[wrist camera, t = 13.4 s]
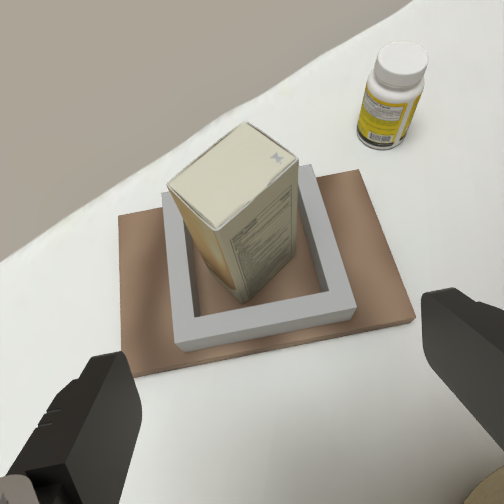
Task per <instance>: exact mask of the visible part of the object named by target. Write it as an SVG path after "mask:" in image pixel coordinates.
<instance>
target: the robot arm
mask: <svg viewBox="0 0 504 504" xmlns="http://www.w3.org/2000/svg"><path fill="white" fill-rule="evenodd" d="M421 317H422V341H423V349H424V353H425V356H426V359H427V361H428V363H429V365H430V366H431V368H432V369H433V370H434V371H435V372H436V374H437V375H438V376H439V377H440V378H441V379H442V380H443V382H444V383H445V384H446V385H447V386H448V387H449V389H450V390H451V391H452V392H453V393H454V394H455V395H456V397H457V398H458V399H459V400H460V401H461V402H462V404H463V405H464V406H465V407H466V408H467V409H468V410H469V412H470V413H471V414H472V415H473V416H474V417H475V418H476V420H477V421H478V422H479V423H480V424H481V425H482V427H483V428H484V429H485V430H486V431H487V432H488V433H489V435H490V436H491V437H492V438H493V439H494V440H495V442H496V443H497V444H498V445H499V446H500V447H501V448H502V450H503V451H504V311H503V310H502V309H500V308H497V307H494V306H491V305H488V304H485V303H482V302H475V301H474V300H472V299H471V298H469V297H468V296H466V295H465V294H463V293H462V292H460V291H459V290H458V289H456V288H447V289H442V290H436V291H431V292H426V293H424V294H423V295H422V297H421ZM141 422H142V406H141V400H140V397H139V394H138V391H137V388H136V385H135V382H134V379H133V376H132V373H131V370H130V367H129V364H128V360H127V358H126V356H125V354H124V353H123V352H122V351H119V352H114V353H108V354H103V355H98V356H93V357H91V358H90V360H89V361H88V363H87V365H86V367H85V368H84V370H83V372H82V373H81V375H80V377H79V379H75V380H72V381H71V382H70V383H69V384H68V385H67V386H66V387H65V388H63V389H62V390H61V391H60V392H59V393H58V394H57V395H56V396H55V398H54V400H53V401H52V403H51V404H50V406H49V408H48V409H47V414H44V415H43V417H42V419H41V420H40V422H39V423H38V428H35V430H34V431H33V433H32V434H31V436H30V438H29V439H28V441H27V442H26V444H25V446H24V447H23V449H22V450H21V452H20V453H19V455H18V457H17V458H16V460H15V461H14V463H13V465H12V466H11V468H10V469H9V471H8V473H7V474H6V476H4V477H1V478H0V504H119V501H120V497H121V494H122V490H123V487H124V483H125V480H126V476H127V472H128V469H129V465H130V462H131V458H132V455H133V451H134V448H135V444H136V440H137V437H138V433H139V430H140V426H141Z"/></svg>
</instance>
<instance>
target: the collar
mask: <svg viewBox="0 0 504 504" xmlns="http://www.w3.org/2000/svg"><path fill="white" fill-rule="evenodd" d="M162 205H163V216H164V228H165V239H166V251H167V262H168V274H169V285H170V296H171V308H172V319H173V331H174V342H175V344H176V345H177V346H178V347H179V348H180V349H181V350H182V351H184V352H185V353H186V352H191V351H196V350H201V349H206V348H211V347H216V346H221V345H226V344H232V343H237V342H242V341H247V340H252V339H257V338H262V337H267V336H272V335H277V334H282V333H287V332H292V331H297V330H302V329H307V328H312V327H317V326H322V325H327V324H332V323H337V322H342V321H348V320H350V319H351V318H352V316H353V314H354V312H355V310H356V308H357V306H356V302H355V299H354V296H353V293H352V290H351V287H350V284H349V280H348V277H347V274H346V271H345V268H344V265H343V262H342V259H341V255H340V252H339V249H338V246H337V243H336V240H335V237H334V234H333V230H332V227H331V224H330V221H329V218H328V215H327V212H326V208H325V205H324V202H323V199H322V196H321V193H320V190H319V187H318V183H317V180H316V177H315V174H314V171H313V168H312V165H311V164H309V165H304V166H299V167H298V198H297V206H298V210H299V213H300V217H301V221H302V224H303V228H304V231H305V235H306V238H307V242H308V246H309V249H310V253H311V256H312V260H313V263H314V267H315V271H316V274H317V278H318V281H319V285H320V288H321V292H322V293H317V294H312V295H307V296H302V297H297V298H292V299H287V300H282V301H277V302H272V303H267V304H261V305H256V306H251V307H246V308H241V309H236V310H231V311H226V312H221V313H216V314H211V315H206V316H201V313H200V305H199V297H198V288H197V280H196V272H195V264H194V256H193V248H192V240H191V234H190V232H189V230H188V228H187V226H186V224H185V222H184V220H183V218H182V216H181V214H180V212H179V210H178V207H177V205H176V203H175V201H174V199H173V197H172V195H171V193H170V192H164V193H162Z"/></svg>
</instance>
